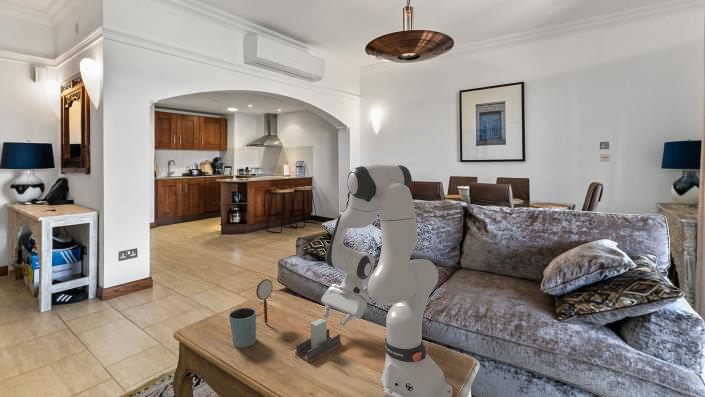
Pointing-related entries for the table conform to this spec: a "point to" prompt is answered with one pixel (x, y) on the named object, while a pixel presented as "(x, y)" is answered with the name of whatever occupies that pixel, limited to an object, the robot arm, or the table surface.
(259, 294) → the magnifying glass
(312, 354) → the track
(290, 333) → the table surface
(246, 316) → the blue-grey cylindrical cup
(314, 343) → the pale green eraser block
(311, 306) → the table surface
